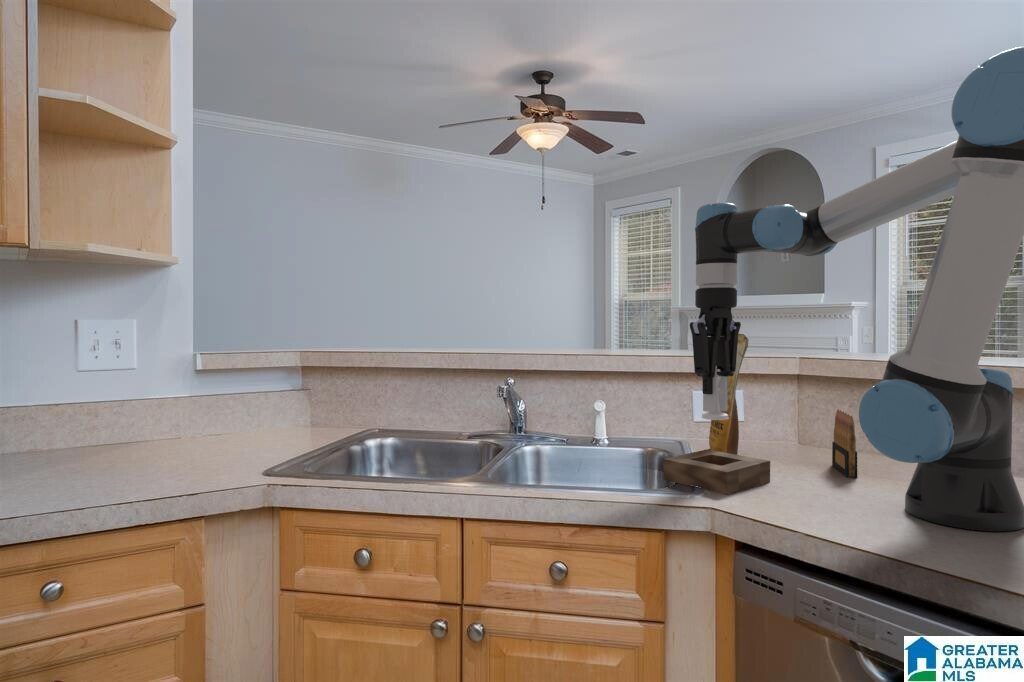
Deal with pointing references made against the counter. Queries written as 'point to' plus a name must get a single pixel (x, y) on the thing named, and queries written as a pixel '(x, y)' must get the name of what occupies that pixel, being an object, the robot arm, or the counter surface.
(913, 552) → the counter surface
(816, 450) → the counter surface
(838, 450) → the ammunition clip
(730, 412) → the pancake mix bag
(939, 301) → the robot arm
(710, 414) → the chess piece
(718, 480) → the socket block
